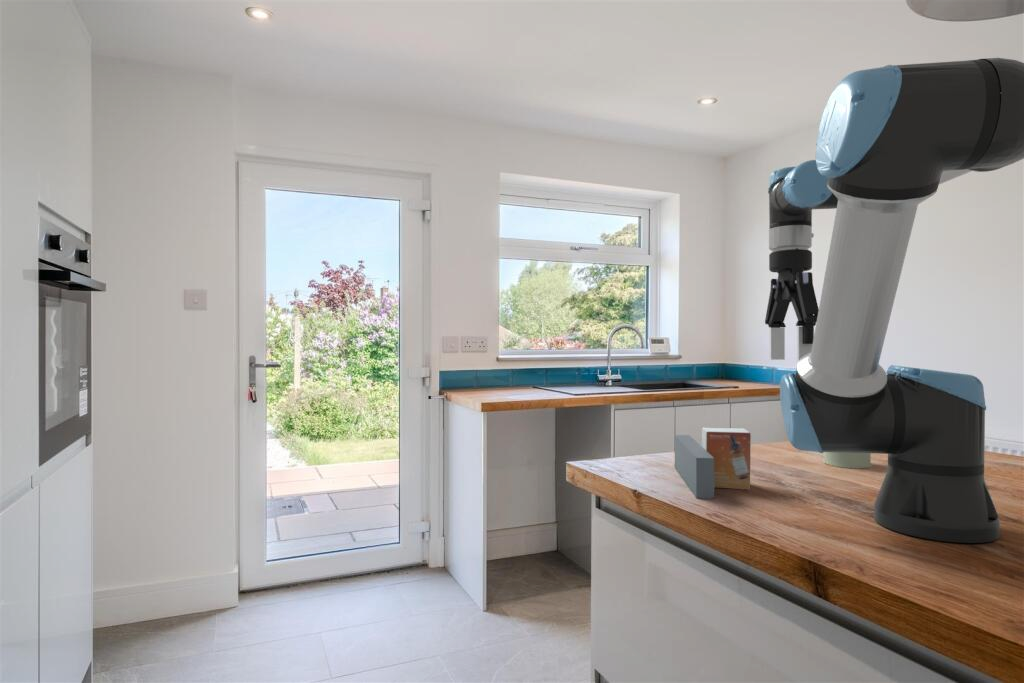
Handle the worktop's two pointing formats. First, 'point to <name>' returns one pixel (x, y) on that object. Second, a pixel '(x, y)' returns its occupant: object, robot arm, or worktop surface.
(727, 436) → the small box
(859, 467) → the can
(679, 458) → the wall
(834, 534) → the worktop surface
